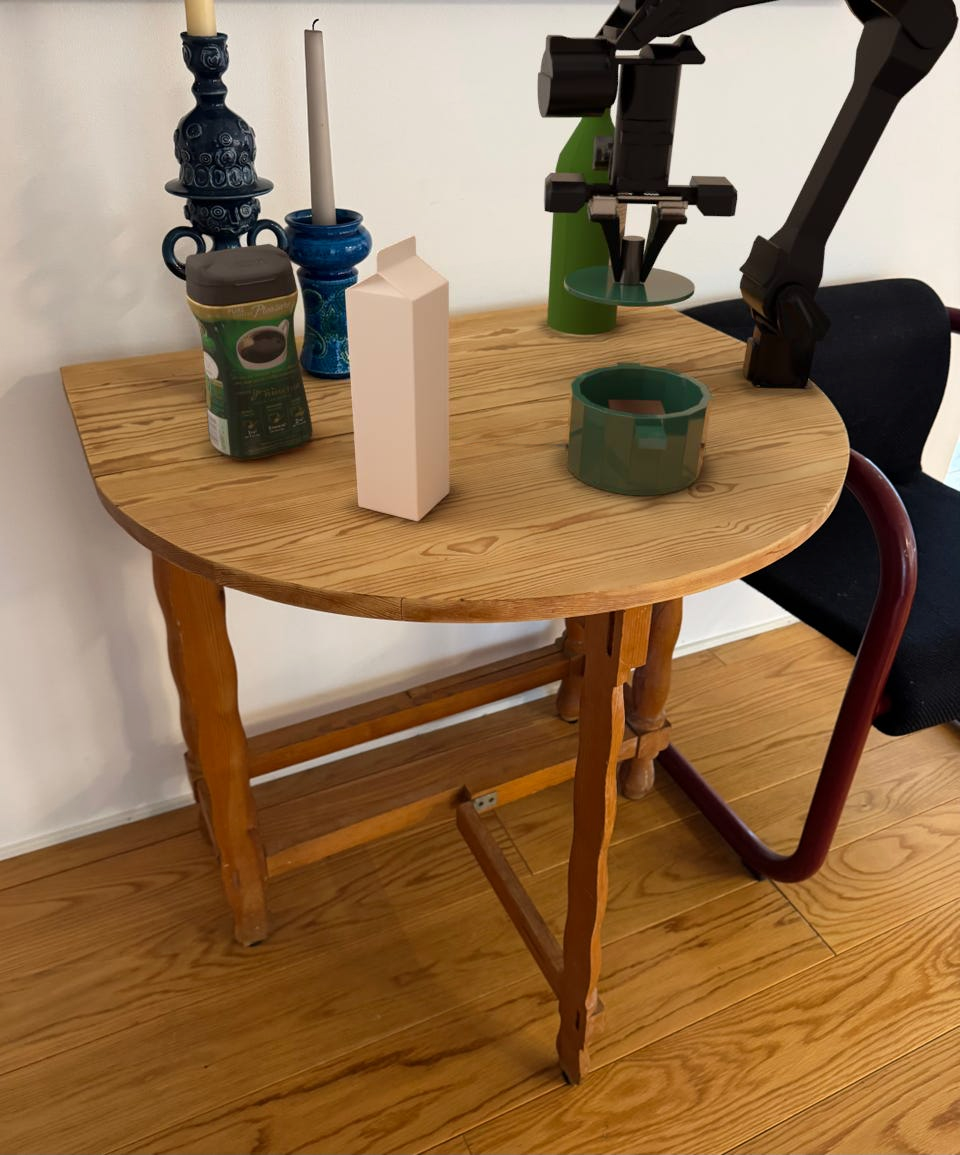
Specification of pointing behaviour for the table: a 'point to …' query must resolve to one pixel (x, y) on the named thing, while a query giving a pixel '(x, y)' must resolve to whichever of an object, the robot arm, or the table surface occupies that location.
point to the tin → (637, 430)
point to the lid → (629, 281)
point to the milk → (400, 383)
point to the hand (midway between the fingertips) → (629, 281)
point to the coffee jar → (249, 350)
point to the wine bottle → (580, 239)
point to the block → (637, 406)
